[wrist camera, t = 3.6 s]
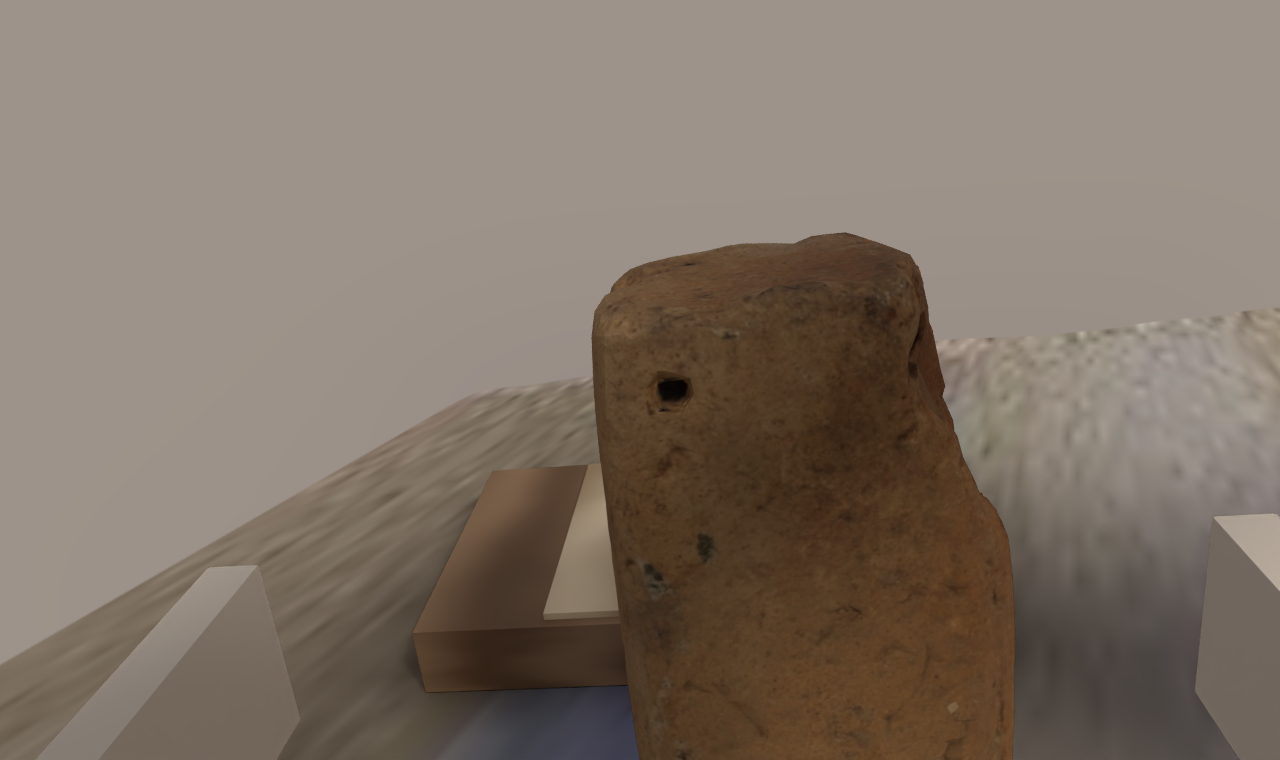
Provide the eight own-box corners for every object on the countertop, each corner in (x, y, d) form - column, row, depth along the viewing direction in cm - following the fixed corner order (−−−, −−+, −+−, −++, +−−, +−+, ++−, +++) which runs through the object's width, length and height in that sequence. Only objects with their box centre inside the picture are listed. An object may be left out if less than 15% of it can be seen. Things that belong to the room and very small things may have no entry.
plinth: (901, 495, 55) (900, 439, 53) (958, 672, 41) (958, 601, 39) (501, 519, 57) (491, 466, 56) (425, 692, 43) (410, 627, 42)
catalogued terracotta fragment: (657, 971, 30) (561, 322, 23) (657, 784, 37) (583, 244, 30) (1033, 944, 29) (1055, 270, 22) (960, 760, 36) (959, 202, 29)
